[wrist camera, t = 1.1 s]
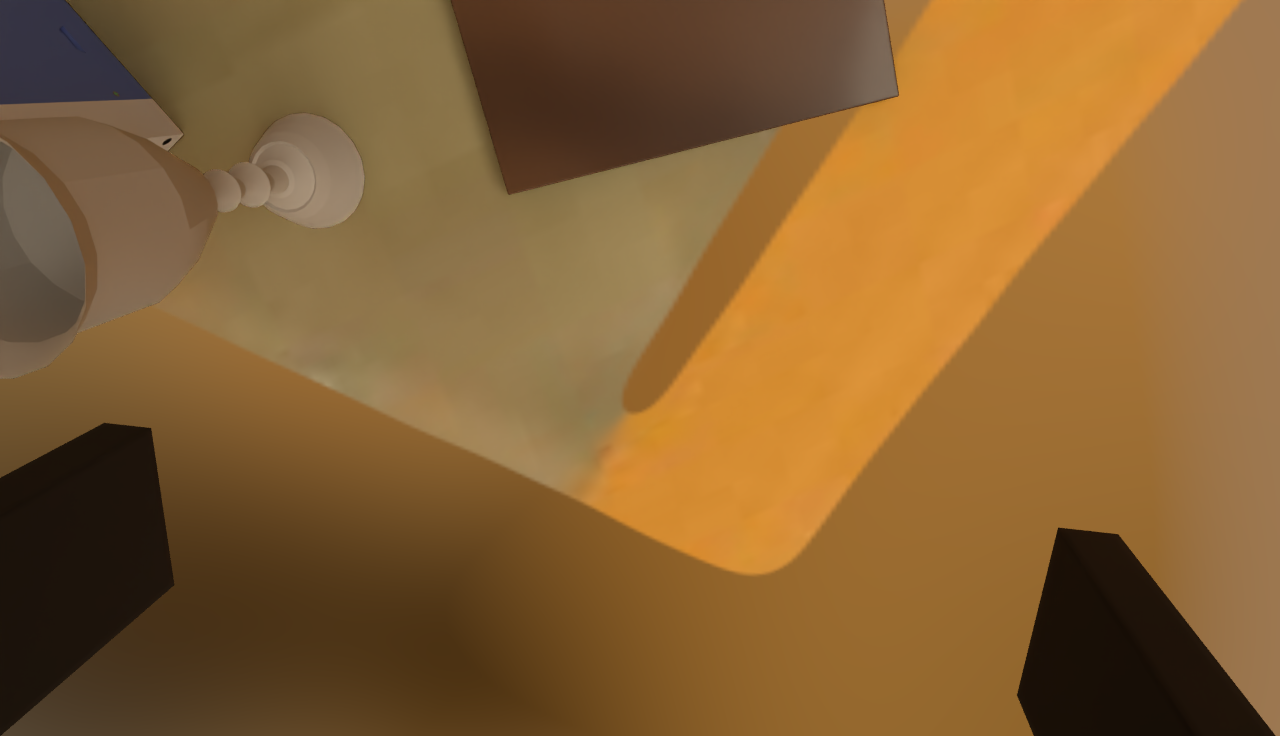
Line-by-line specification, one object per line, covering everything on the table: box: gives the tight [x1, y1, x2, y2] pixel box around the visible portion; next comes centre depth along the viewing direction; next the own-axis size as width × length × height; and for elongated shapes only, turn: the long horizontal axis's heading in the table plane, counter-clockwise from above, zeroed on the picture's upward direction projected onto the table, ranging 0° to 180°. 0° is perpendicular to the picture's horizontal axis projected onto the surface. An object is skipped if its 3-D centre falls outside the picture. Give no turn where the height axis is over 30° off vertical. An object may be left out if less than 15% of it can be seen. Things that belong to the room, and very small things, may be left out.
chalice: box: [0, 113, 365, 378], centre depth 29 cm, size 7×7×18 cm
